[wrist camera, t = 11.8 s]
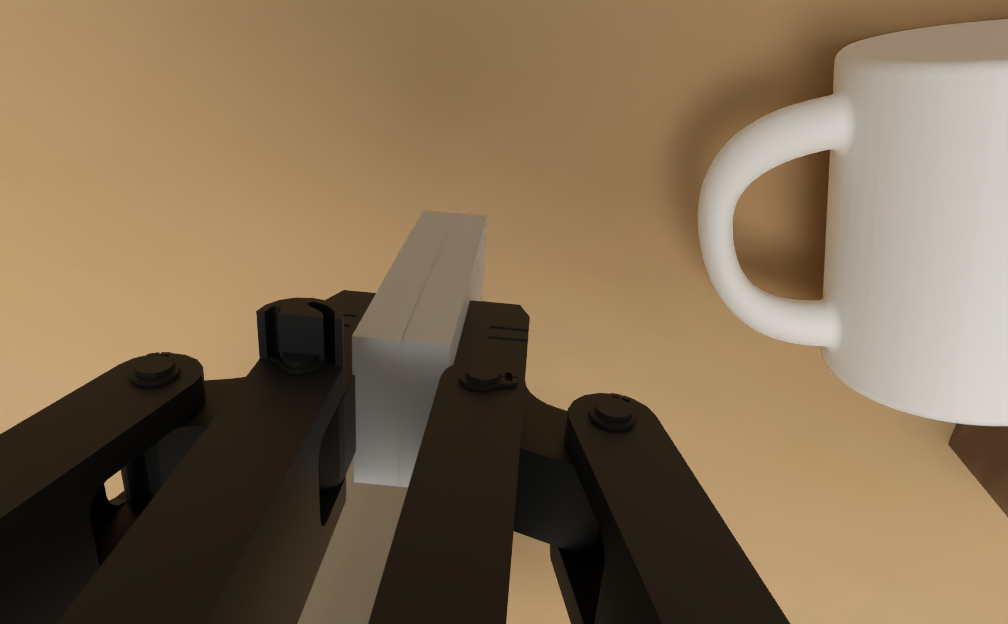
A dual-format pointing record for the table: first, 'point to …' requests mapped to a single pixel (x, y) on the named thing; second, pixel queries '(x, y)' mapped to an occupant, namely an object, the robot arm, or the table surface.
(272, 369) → the robot arm
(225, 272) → the table surface
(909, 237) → the mug
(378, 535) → the travel mug
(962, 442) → the header dock
